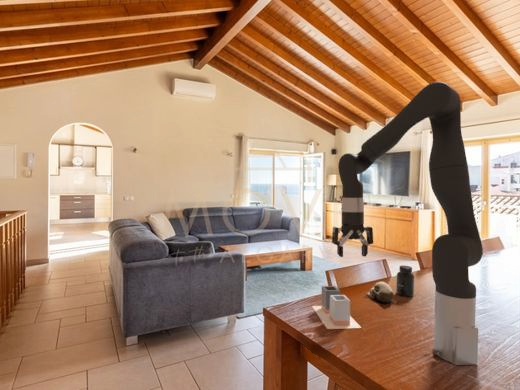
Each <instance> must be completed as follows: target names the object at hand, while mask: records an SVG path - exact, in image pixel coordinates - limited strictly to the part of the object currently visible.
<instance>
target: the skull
mask: <svg viewBox="0 0 520 390" xmlns="http://www.w3.org/2000/svg"><path fill="white" fill-rule="evenodd" d="M364 298H365V299H370V300H371V301H372V302H374V303H376V304H377V305H378V306H383V307H385V306H387V305H390V304H391V305H392V304H397V300H396V299H395V298H394V291H393V289H392V287H391V286H390V285H389V284H388V283H387V282H384V281H379V282H376V283H375V284H374V285H373V286H372V288H370V289H369V291H368V292H367V293H366V294H365V295H364Z"/></svg>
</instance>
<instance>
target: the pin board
mask: <svg viewBox="0 0 520 390" xmlns="http://www.w3.org/2000/svg"><path fill="white" fill-rule="evenodd" d="M311 307H312V309H313V310H314V311H315V313H316V314H317V316H318V317H319V319H320V321H322V324H323V325H324V326H325V327H326V329H327V330H336V329H337V330H340V329H342V330H343V329H344V330H345V329H362V327H361V325H360V324H359V323H358V322H357V321H356V320H355V319H354V318H353V317H352V316H351V315H350V325H340V326H335V325H334V324H333V323H332V321H331V320H330V314H326V313H325V312H324V311H323V310H322V308H321V305H312V306H311Z"/></svg>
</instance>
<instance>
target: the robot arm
mask: <svg viewBox="0 0 520 390" xmlns="http://www.w3.org/2000/svg"><path fill="white" fill-rule="evenodd" d="M461 104H462V103H461V96H460V94H459V93H458V91H457V90H456V89H455V88H453V87H451V86H450V85H449V84H447V83H445V82H442V81H434V82H432V83H429V84H427V85H425V86H424V87H423V88H422V89H421V90H419V92H417V94H416V95H415V96H414V97H413V98H412V99H411V100H410V101H409V102H408V103H407V104H406V105H405V106H404V107H403V108H402V109H401V110H400V111H399V112H398V113H397V114H396V115H395V116H394V117H393V118H392V119H391V120H390V121H389V122H388V123H387V124H385V125H384V127H382V128H381V129H379V130H378V131H377V132H376V133H374V134H373V135H372V136H371V137H369V138H368V139H367V140H366V141H364V142H363V143H362V144H361V146H360V148H361V150H360V151H359V152H358V153H356V154H355V153H344V154H343V155H341V157H340V158H339V161H338V164H337V165H338V166H337V167H338V175H339V178H340V182H341V185H342V189H341V190H342V196H341V197H342V198H341V199H342V200H341V226H340V227H337V226H333V227H332V237H331V244H333V245H336V247H337V251H336V252H337V253H336V254H337V255H338V257H340V258H343V257H344V245H345V243H346V242H347V241H348V240H350V241H351V240H359V242H360V243H361V256H362V257H363V258H364V257H367V255H368V253H369V252H368V250H369V245H372V244H374V232H373V230H374V229H373V227H371V226H364V224H365V222H364V221H365V215H364V214H365V205H364V204H365V203H364V184H363V182H362V181H360V180H359V178H358V175H360V174H362V173H363V172H366V171H367V170H368V169H369V168H370V167H371V166H372V165H373V164H374V163H375V162H376V160H377V159H379V158H380V157H382V156H384V155H385V154H386V153H387V152H389V151H390V150H392V149H394V147H395V146H396V145H398V143H399V142H400V141H401V140H402V138H403V137H404V136H405V134H406V133H408V131H410V130H411V129H412V128H413V127H414V126H416V125H417V124H418V123H420V122H422V121H424V120H426V119H427V118H428V119H429V123H430V127H431V128H430V129H431V132H432V143H431V149H430V152H429V153H430V155H429V159H428V172H429V179H430V180H429V181H430V185H431V186H430V187H431V190H432V192H433V194H434V196H435V198H436V200H437V202H438V203H439V206H440V207H441V208H442V210H443V212H444V215H445V219H446V223H447V224H446V225H447V234H446V233H445V234H442V235H440V236H437V238H436V239H435V240H434V241H433V244H432V249H431V266H432V267H431V269H432V270H431V271H432V273H431V274H432V279H433V282H434V285H435V291H434V293H435V296H434V329H433V331H434V332H433V341H434V342H433V349H434V351H436V352H437V353H436V352H435V355H436V356H438V357H439V358H441V359H442V360H444V361H447V362H450V363H452V364H453V365H455V366H466V365H467V366H468V365H478V353H479V351H478V350H479V348H478V347H479V345H478V342H479V328H478V327H477V326H476V307H477V306H476V305H477V303H476V302H477V287H476V285H475V283H473V282H471V281H470V279H469V278H470V277H469V276H470V275H469V267H473V266H475V265H477V264H479V262H481V260H482V257H483V252H484V250H483V244H482V240H481V236H480V232H479V228H478V224H477V221H476V217H475V213H474V205H473V204H474V203H473V196H472V190H471V182H470V181H471V179H470V171H469V166H468V160H467V156H466V149H465V144H464V140H463V135H462V125H461V123H462V122H461V121H462V120H461V119H462V118H461V117H462V115H461V112H462V111H461V109H462V108H461ZM340 232H341V233H342V235H341V236H340V237H339V234H341V233H340ZM364 232H365V234H366V237H365V236H364V235H363V234H364Z"/></svg>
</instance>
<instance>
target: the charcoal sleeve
mask: <svg viewBox="0 0 520 390" xmlns="http://www.w3.org/2000/svg"><path fill="white" fill-rule="evenodd" d="M330 295H341V290H340V289H339V288H338V287H337V286H336V285H322V286H321V301H320V303H321V305H320V306H321V308H322V310H323V311H324V312H325V313H326V314H330Z"/></svg>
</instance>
